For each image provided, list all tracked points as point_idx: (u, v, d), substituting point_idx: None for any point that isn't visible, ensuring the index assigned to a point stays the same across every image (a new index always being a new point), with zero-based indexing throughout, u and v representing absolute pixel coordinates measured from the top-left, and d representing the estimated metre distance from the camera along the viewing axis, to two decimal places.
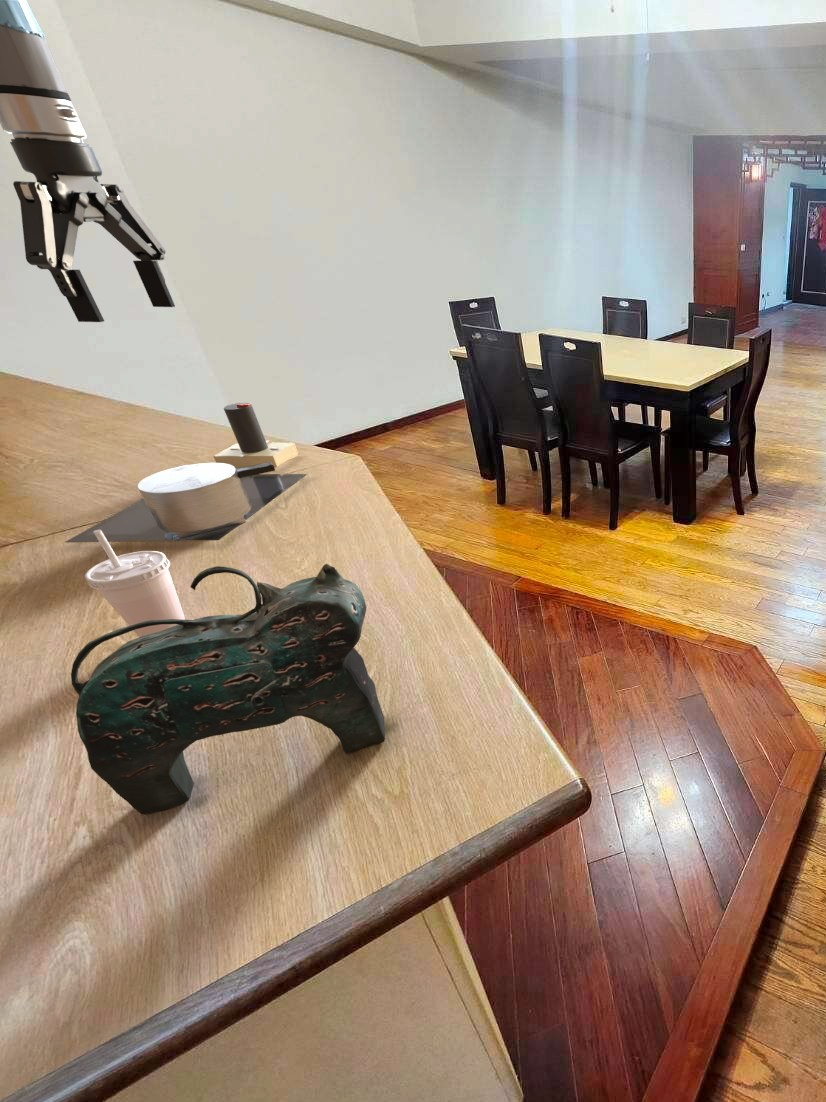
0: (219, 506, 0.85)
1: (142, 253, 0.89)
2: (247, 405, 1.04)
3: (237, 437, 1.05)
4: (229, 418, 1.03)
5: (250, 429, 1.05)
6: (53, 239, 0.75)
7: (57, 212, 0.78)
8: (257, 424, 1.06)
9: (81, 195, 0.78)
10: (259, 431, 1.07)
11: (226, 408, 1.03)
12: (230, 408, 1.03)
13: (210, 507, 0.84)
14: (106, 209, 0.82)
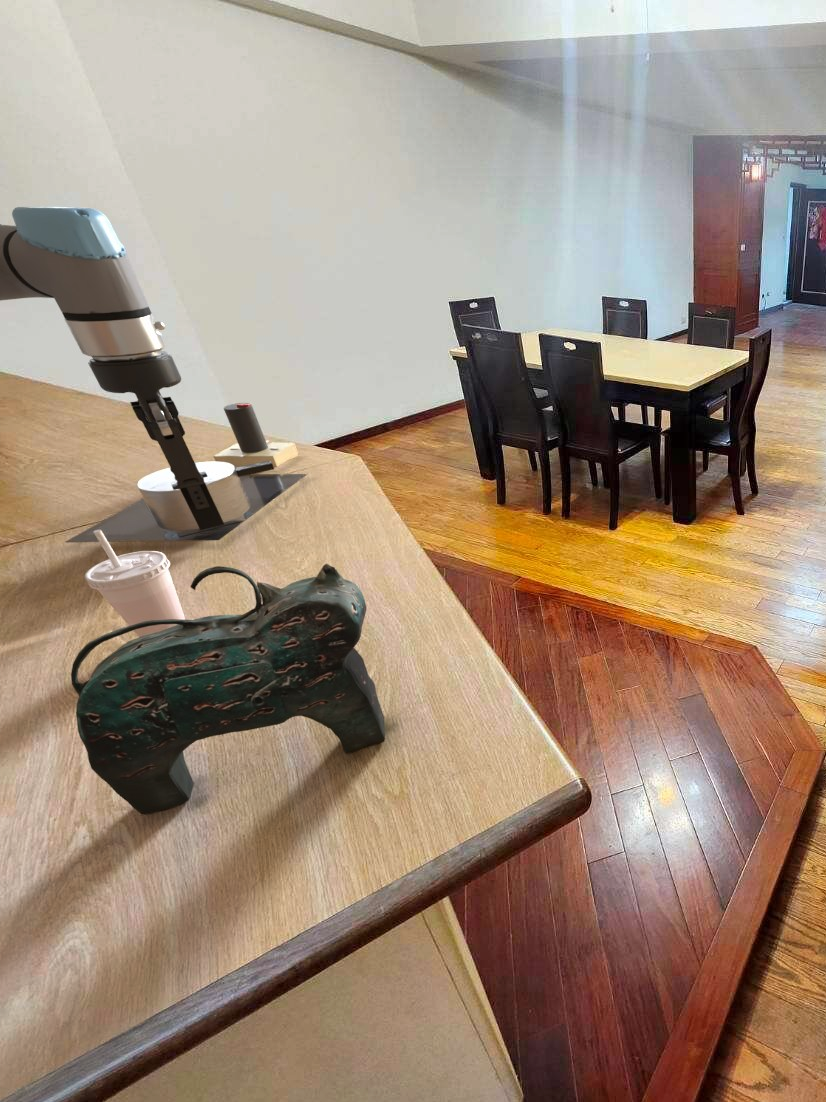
0: (218, 504, 0.85)
1: None
2: (247, 405, 1.04)
3: (237, 437, 1.05)
4: (229, 418, 1.03)
5: (250, 429, 1.05)
6: None
7: None
8: (257, 424, 1.06)
9: (174, 404, 0.75)
10: (259, 431, 1.07)
11: (226, 408, 1.03)
12: (230, 408, 1.03)
13: None
14: None
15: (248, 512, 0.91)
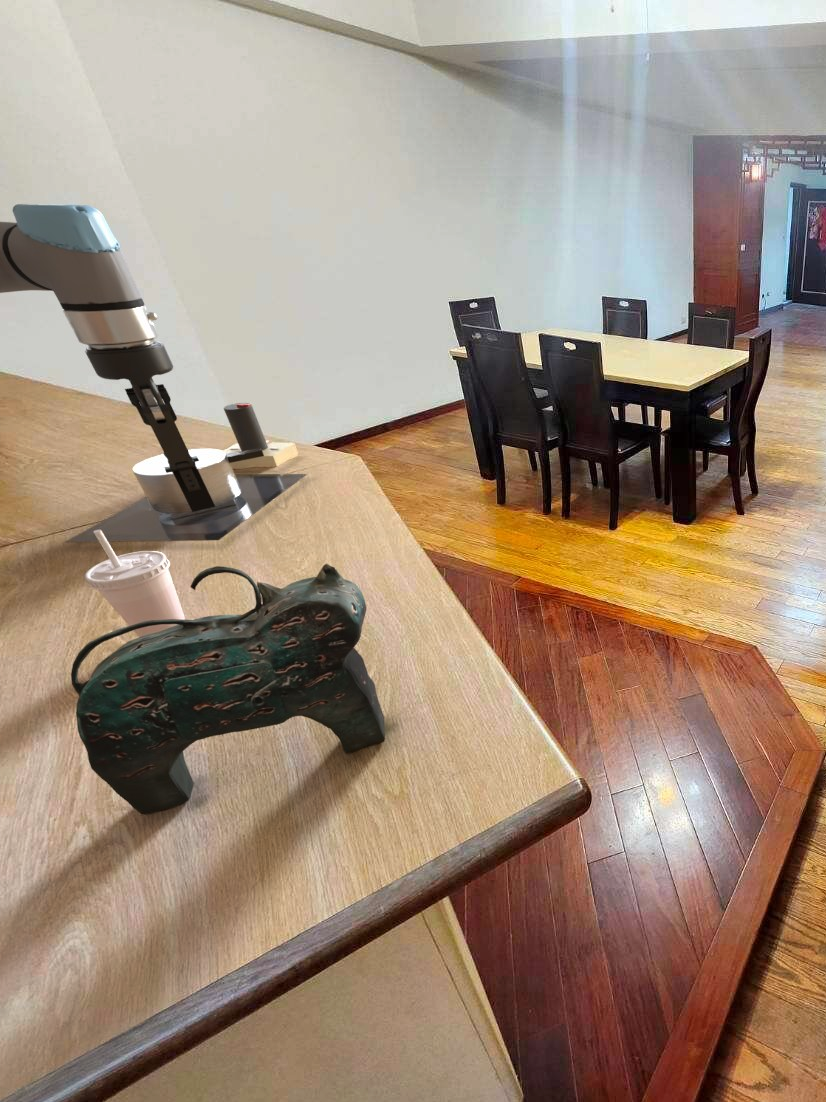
0: (210, 488, 0.89)
1: None
2: (247, 405, 1.04)
3: (237, 437, 1.05)
4: (229, 418, 1.03)
5: (250, 429, 1.05)
6: None
7: None
8: (257, 424, 1.06)
9: (166, 390, 0.79)
10: (259, 431, 1.07)
11: (226, 408, 1.03)
12: (230, 408, 1.03)
13: None
14: None
15: (248, 512, 0.91)
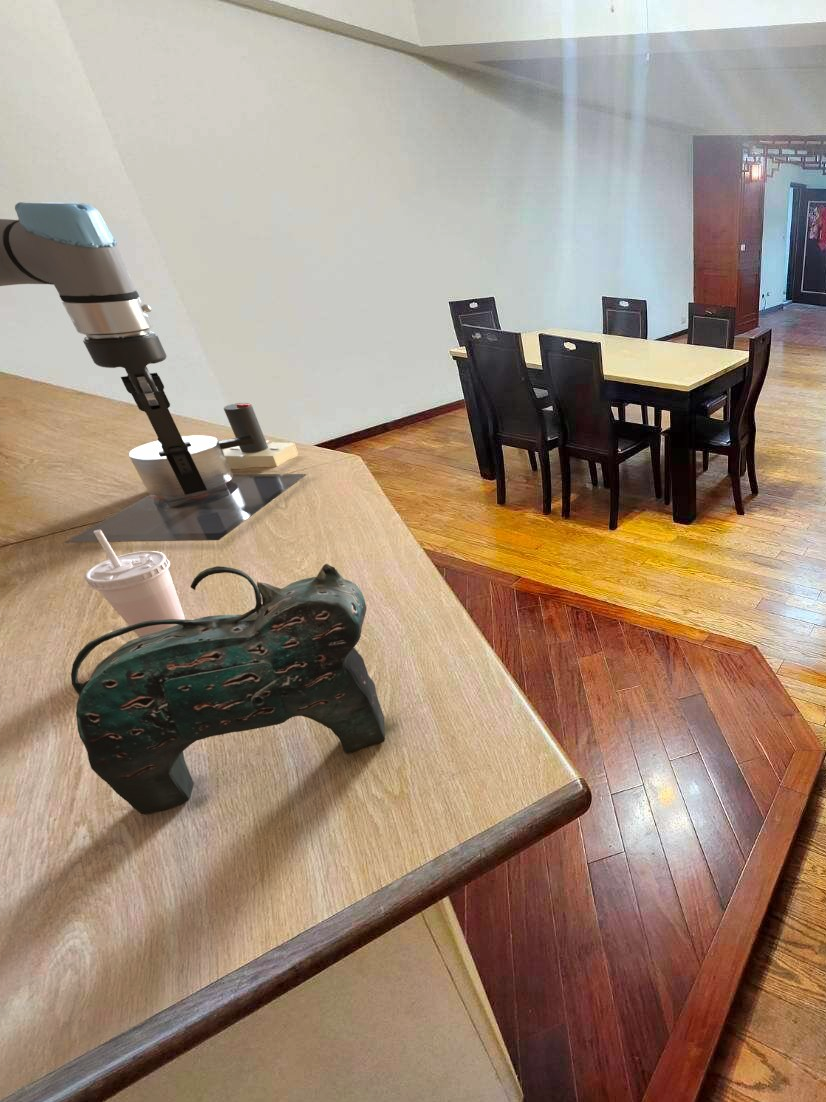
0: (202, 473, 0.94)
1: None
2: (247, 405, 1.04)
3: (237, 437, 1.05)
4: (229, 418, 1.03)
5: (250, 429, 1.05)
6: None
7: None
8: (257, 424, 1.06)
9: None
10: (259, 431, 1.07)
11: (226, 408, 1.03)
12: (230, 408, 1.03)
13: None
14: None
15: (248, 512, 0.91)
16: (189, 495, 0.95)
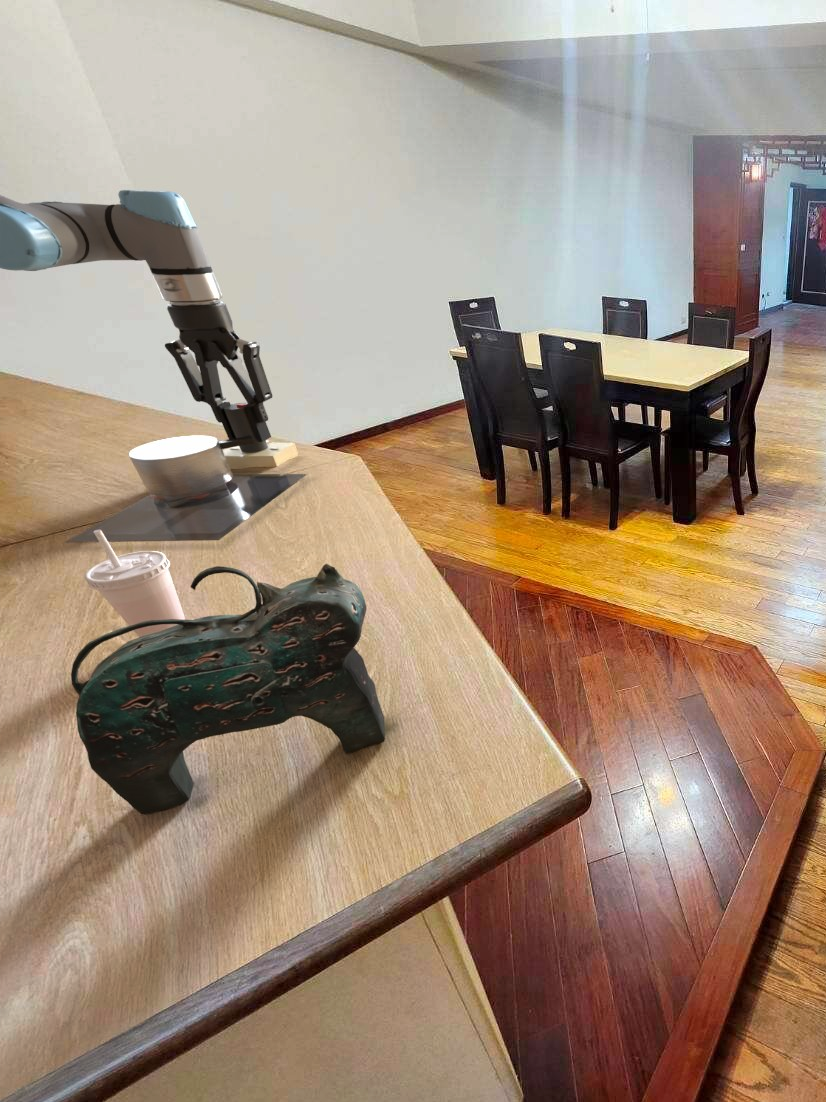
0: (202, 473, 0.94)
1: None
2: None
3: (237, 437, 1.05)
4: (229, 418, 1.03)
5: (250, 429, 1.05)
6: (192, 382, 1.00)
7: None
8: None
9: (193, 343, 0.97)
10: None
11: (226, 408, 1.03)
12: (230, 408, 1.03)
13: (194, 474, 0.93)
14: (220, 353, 0.98)
15: (248, 512, 0.91)
16: (189, 495, 0.95)
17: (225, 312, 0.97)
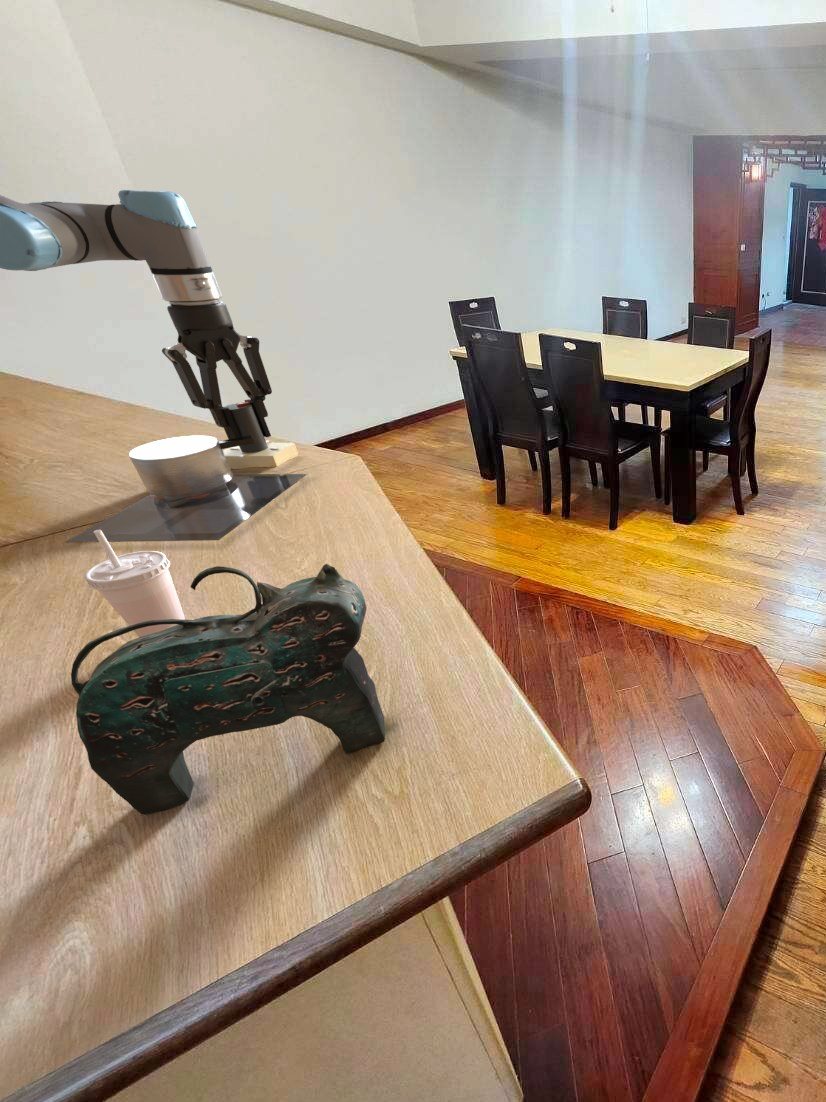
0: (202, 473, 0.94)
1: None
2: (248, 402, 1.05)
3: None
4: (241, 418, 1.04)
5: (259, 426, 1.07)
6: (199, 387, 0.98)
7: None
8: None
9: (207, 344, 0.97)
10: None
11: (235, 408, 1.03)
12: (240, 407, 1.03)
13: (194, 474, 0.93)
14: (233, 350, 1.00)
15: (248, 512, 0.91)
16: (189, 495, 0.95)
17: None
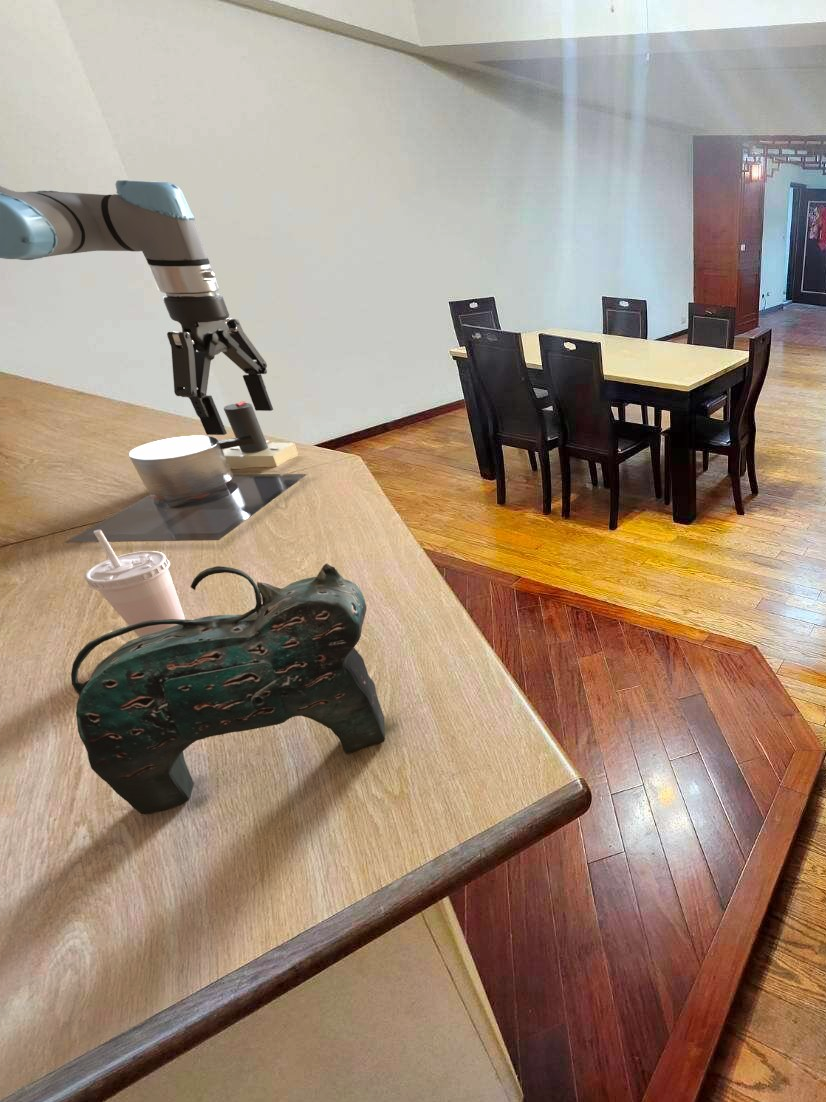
0: (202, 473, 0.94)
1: (250, 369, 1.08)
2: (244, 402, 1.06)
3: (256, 435, 1.06)
4: (248, 417, 1.05)
5: None
6: (195, 375, 0.94)
7: (194, 349, 0.97)
8: None
9: (213, 335, 0.97)
10: None
11: (242, 407, 1.04)
12: (244, 406, 1.04)
13: (194, 474, 0.93)
14: (229, 342, 1.01)
15: (248, 512, 0.91)
16: (189, 495, 0.95)
17: None
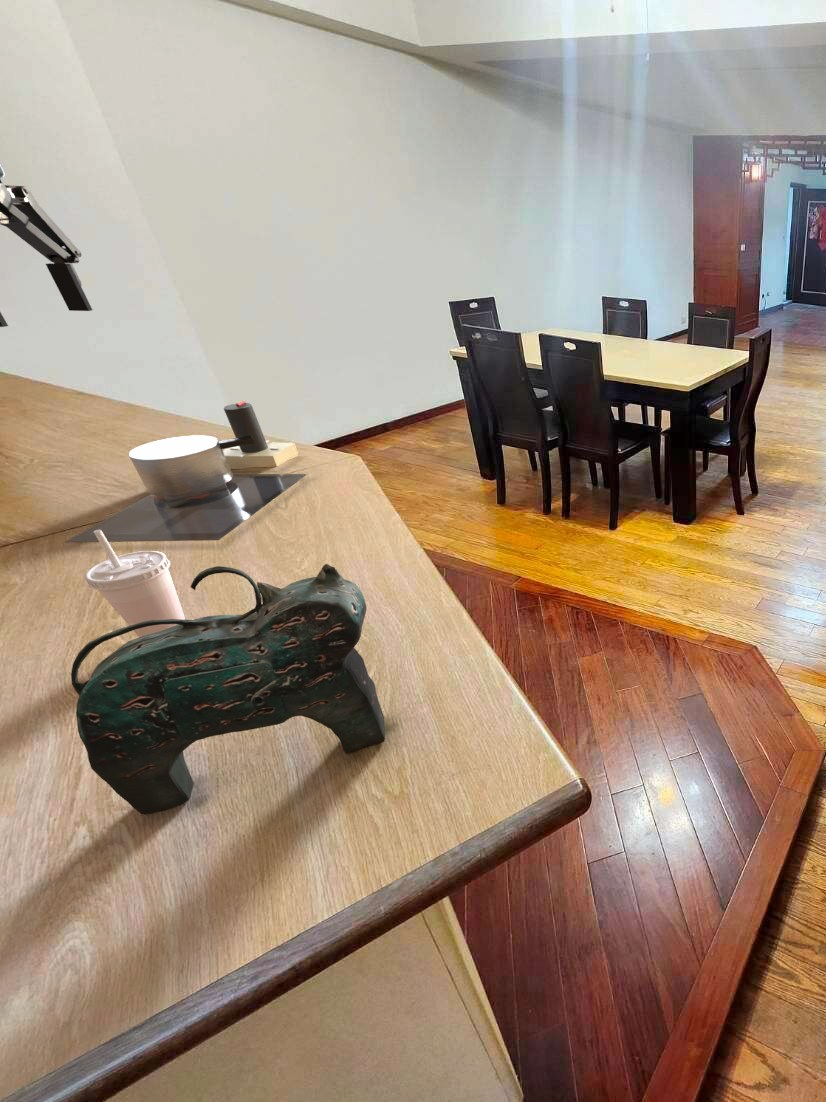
0: (202, 473, 0.94)
1: (55, 256, 0.87)
2: (244, 402, 1.06)
3: (256, 435, 1.06)
4: (248, 417, 1.05)
5: None
6: None
7: None
8: None
9: None
10: None
11: (242, 407, 1.04)
12: (244, 406, 1.04)
13: (194, 474, 0.93)
14: (10, 211, 0.80)
15: (248, 512, 0.91)
16: (189, 495, 0.95)
17: None
